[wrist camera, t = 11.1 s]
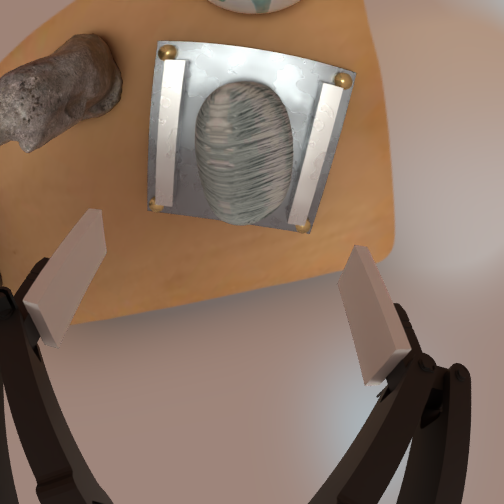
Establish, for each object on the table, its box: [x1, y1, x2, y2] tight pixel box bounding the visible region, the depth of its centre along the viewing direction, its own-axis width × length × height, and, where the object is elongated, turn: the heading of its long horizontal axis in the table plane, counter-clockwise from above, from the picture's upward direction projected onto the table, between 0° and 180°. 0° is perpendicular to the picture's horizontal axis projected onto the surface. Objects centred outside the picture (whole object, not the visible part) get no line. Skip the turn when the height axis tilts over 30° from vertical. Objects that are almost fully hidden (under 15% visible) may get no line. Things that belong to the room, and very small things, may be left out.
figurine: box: [0, 34, 122, 153], centre depth 18 cm, size 13×12×18 cm
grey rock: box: [195, 81, 294, 225], centre depth 27 cm, size 14×10×10 cm
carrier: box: [148, 41, 356, 234], centre depth 30 cm, size 20×20×3 cm
